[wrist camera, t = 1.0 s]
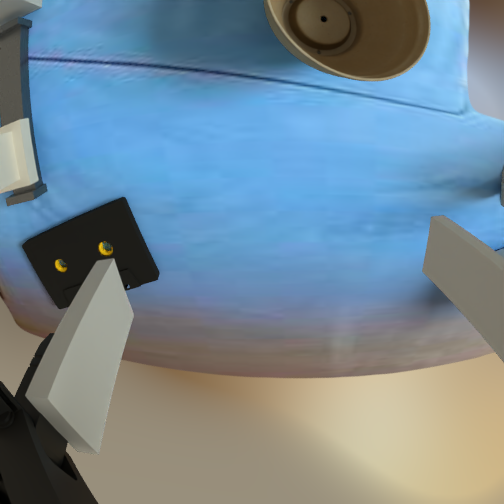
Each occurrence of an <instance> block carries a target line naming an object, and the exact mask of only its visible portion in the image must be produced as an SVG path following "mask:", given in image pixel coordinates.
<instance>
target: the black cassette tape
mask: <svg viewBox="0 0 504 504" xmlns="http://www.w3.org/2000/svg"><path fill="white" fill-rule="evenodd" d="M103 242H104V243H105V242H108V243H109V244H111V246H112V247H111V249H112V251H110V250H109V251H107V250H105V249H104V248H103V244H102V243H103ZM144 244H145V245H144ZM22 247H23V249H24V251H25V253H26V255H27V257H28V259H29V260H30V262H31V264H32V266H33V268H34V269H35V271H36V273H37V275H38V276H39V278H40V280H41V281H42V283H43V285H44V286H45V288H46V290H47V291H48V293H49V295H50V296H51V298H52V299H53V301H54V302H55V304H56V306H57V307H58V308H59V309H63V308H66V307H69V306H70V305H71V303H72V301H73V299H74V298H75V296H76V294H77V292H78V291H79V289H80V287H81V286H82V284H83V282H84V281H85V279H86V278H87V276H88V274H89V273H90V271H91V270H92V268H93V266H94V265H95V263H96V262H97V261H99V260H106V259H112V258H114V260H115V263H116V266H117V269H118V272H119V275H120V278H121V281H122V284H123V287H124V289H125V291H126V290H129V289H133V288H136V287H139V286H141V285H142V284H146V283H149V282H152V281H156V280H158V277H159V270H158V268H157V266H156V264H155V262H154V260H153V258H152V256H151V254H150V252H149V249H148V247H147V245H146V243H145V241H144V239H143V236H142V234H141V232H140V230H139V228H138V225H137V223H136V221H135V218H134V216H133V214H132V212H131V209H130V207H129V205H128V202H127V200H126V198H125V197H122V198H119V199H117V200H114V201H112V202H110V203H107V204H105V205H102V206H100V207H98V208H95V209H93V210H91V211H89V212H86V213H84V214H82V215H79V216H77V217H75V218H73V219H71V220H68V221H66V222H64V223H62V224H60V225H58V226H56V227H53V228H51V229H49V230H47V231H45V232H43V233H41V234H39V236H38V235H37V236H35V237H33V238H31V239H29V241H28V240H27V241H26V242H25V243H24V244H23V245H22ZM99 251H100V253H99ZM103 255H104V256H103ZM59 260H63V261H64V262H65V263H66V266H67V267H63V266H61V265H60V263H59ZM126 284H127V285H126ZM128 284H129V285H130V288H127V286H128Z"/></svg>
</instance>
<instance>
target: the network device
mask: <svg viewBox="0 0 504 504" xmlns="http://www.w3.org/2000/svg"><path fill="white" fill-rule="evenodd" d="M501 205H502V206H503V207H504V169H503V172H502V182H501Z"/></svg>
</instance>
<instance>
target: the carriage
mask: <svg viewBox="0 0 504 504" xmlns="http://www.w3.org/2000/svg"><path fill="white" fill-rule="evenodd" d="M38 180H39V179H38V175H37V170H36V164H35V159H34V153H33V147H32V140H31V133H30V126H29V118H25V119H20V120H17V121H15V122H12V123H10V124H8V125H5V126H3V127H1V128H0V193H4V192H7V191H10V190H14V189H17V188H21V187H25V186H28V185H31V184H33V183H35V182H37V181H38Z"/></svg>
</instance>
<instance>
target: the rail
mask: <svg viewBox="0 0 504 504" xmlns="http://www.w3.org/2000/svg"><path fill="white" fill-rule="evenodd" d="M31 27H32V21H31V20H28V19H24V18H21V17H16V18H15V19H13V20H11V21H9V22H7V23H5V24H4V25H2V26H0V115H1V124H2V127H3V126H5V125H8V124H10V123H12V122H15V121H17V120H20V119H25V118H29V126H30V133H31V140H32V147H33V153H34V159H35V164H36V170H37V175H38V179H39V180H38V181H37V182H35V183H33V184H31V185H28V186H25V187H21V188H17V189H14V190H13V192H14V194H13V195H11V196H9V197H8V198H6V203H7V206H10V205H14V204H18V203H22V202H26V201H30V200H34V199H36V198H37V197H39V196H40V195H42V194H43V193H45V192H47V187H46V184H43V182H42V177H41V172H40V167H39V162H38V156H37V150H36V144H35V137H34V130H33V122H32V113H31V103H30V90H29V70H28V34H29V28H31Z"/></svg>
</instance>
